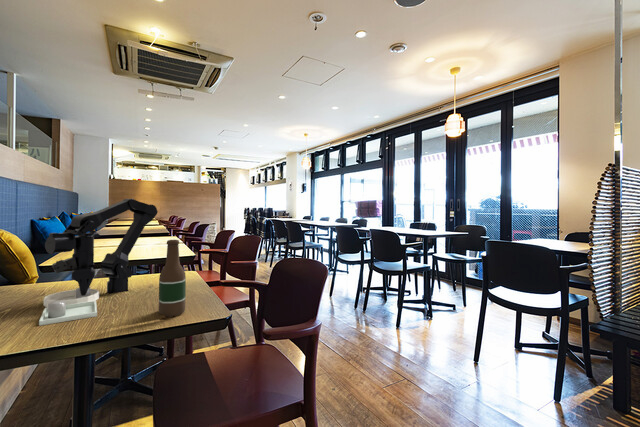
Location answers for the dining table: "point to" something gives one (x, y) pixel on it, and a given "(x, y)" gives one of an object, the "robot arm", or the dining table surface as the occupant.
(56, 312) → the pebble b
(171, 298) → the beer bottle
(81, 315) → the tray
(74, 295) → the bowl
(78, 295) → the grey rounded cylinder
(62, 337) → the dining table surface
